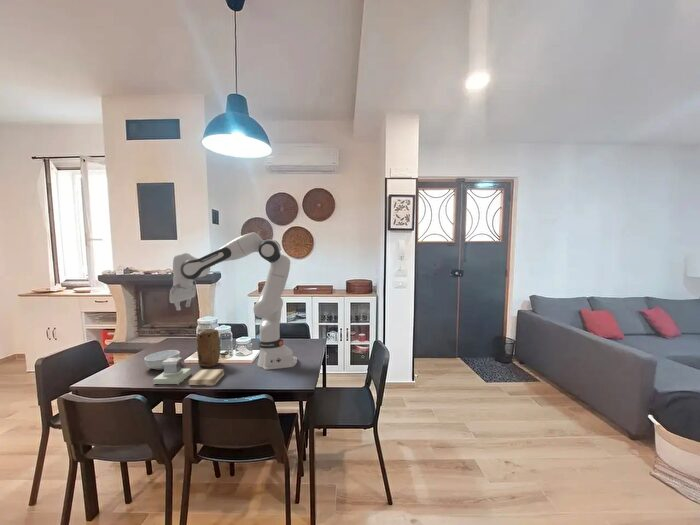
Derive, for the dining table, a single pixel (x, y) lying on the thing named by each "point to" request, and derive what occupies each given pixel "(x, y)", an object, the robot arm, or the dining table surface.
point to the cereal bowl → (160, 358)
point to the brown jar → (208, 348)
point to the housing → (172, 366)
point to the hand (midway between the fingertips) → (183, 308)
